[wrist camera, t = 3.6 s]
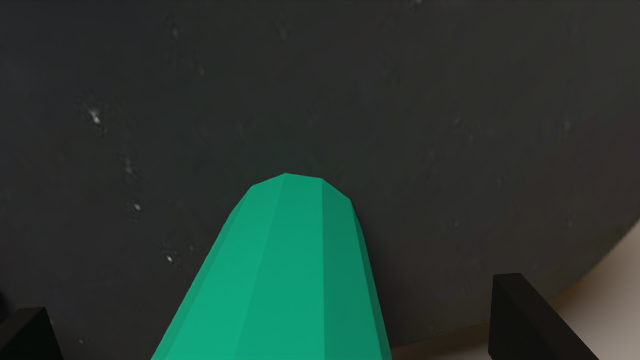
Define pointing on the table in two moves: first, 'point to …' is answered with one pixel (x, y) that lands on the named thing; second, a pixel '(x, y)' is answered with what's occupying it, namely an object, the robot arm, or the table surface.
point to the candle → (283, 283)
